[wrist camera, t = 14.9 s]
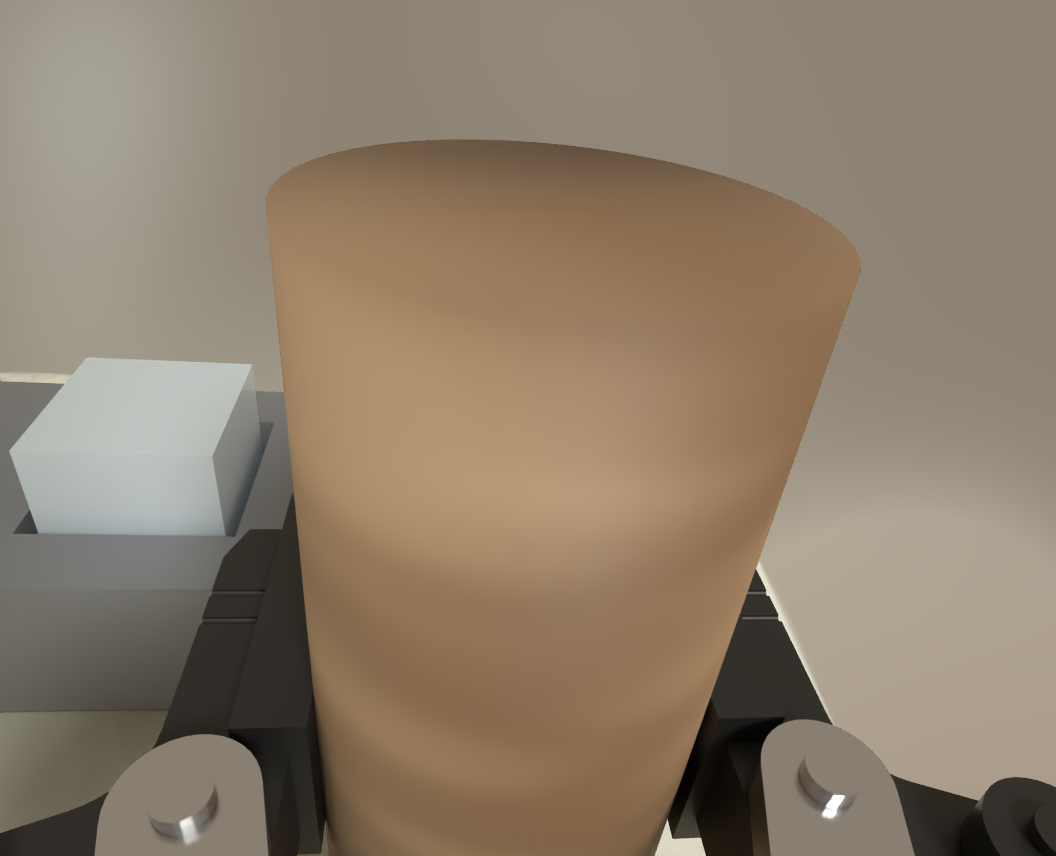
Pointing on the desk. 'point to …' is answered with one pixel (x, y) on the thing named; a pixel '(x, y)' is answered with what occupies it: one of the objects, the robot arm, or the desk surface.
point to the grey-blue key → (143, 450)
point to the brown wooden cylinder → (533, 473)
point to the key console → (110, 584)
